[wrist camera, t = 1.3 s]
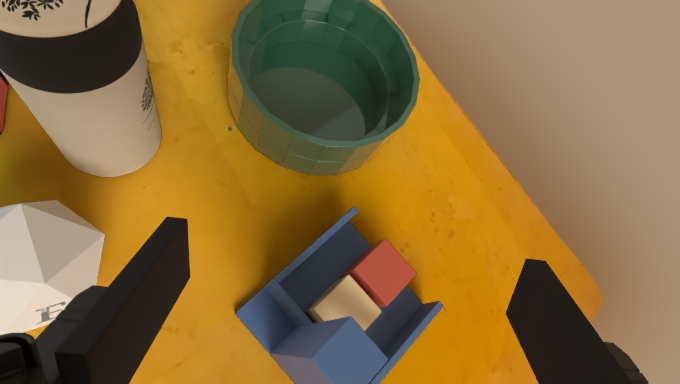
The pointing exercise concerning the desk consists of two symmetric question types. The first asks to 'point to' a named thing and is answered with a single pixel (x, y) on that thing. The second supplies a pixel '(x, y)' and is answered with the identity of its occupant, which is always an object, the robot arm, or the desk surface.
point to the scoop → (334, 335)
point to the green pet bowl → (320, 82)
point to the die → (43, 262)
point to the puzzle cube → (2, 99)
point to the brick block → (381, 273)
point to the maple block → (344, 304)
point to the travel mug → (83, 79)
